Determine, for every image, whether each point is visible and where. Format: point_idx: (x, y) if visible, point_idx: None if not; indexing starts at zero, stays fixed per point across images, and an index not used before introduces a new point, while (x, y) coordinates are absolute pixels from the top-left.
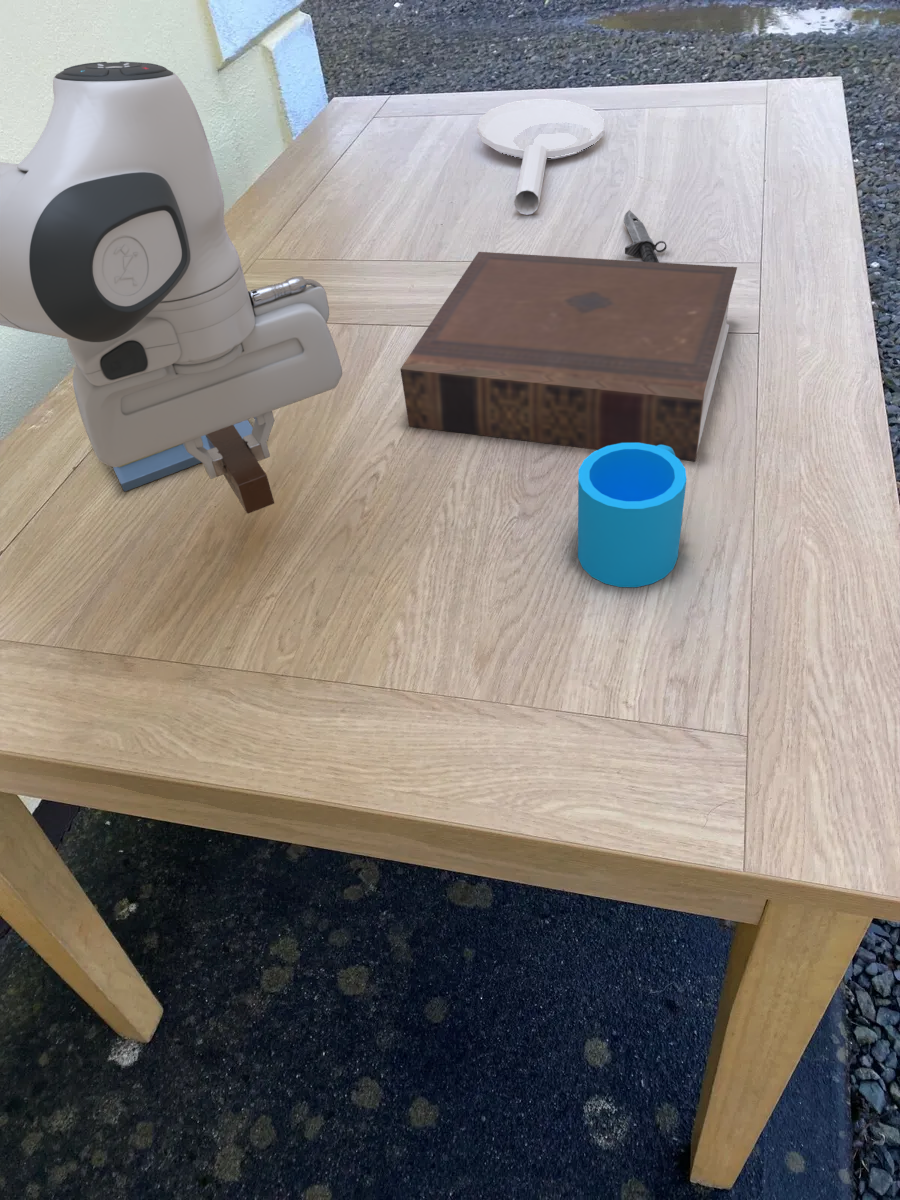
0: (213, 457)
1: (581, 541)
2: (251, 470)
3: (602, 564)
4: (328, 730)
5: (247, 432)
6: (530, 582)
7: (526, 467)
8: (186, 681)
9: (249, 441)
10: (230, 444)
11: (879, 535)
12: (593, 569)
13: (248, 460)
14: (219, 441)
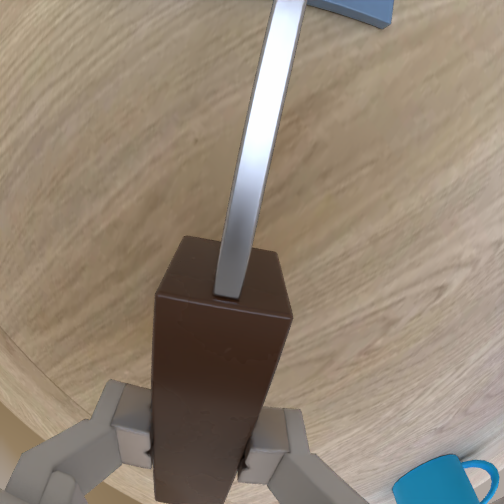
0: (125, 456)
1: (409, 496)
2: (200, 497)
3: (397, 501)
4: (152, 486)
5: (377, 7)
6: (368, 478)
7: (499, 380)
8: (56, 401)
9: (254, 468)
10: (204, 426)
11: (474, 487)
12: (396, 491)
13: (212, 481)
14: (178, 397)
